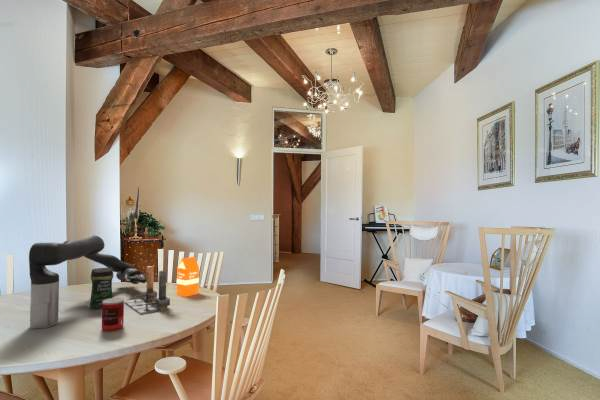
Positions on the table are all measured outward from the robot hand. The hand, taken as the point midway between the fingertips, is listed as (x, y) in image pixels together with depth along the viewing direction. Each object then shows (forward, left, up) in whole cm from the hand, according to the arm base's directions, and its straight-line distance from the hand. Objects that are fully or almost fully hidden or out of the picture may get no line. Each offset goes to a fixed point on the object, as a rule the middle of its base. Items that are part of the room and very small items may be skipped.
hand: (144, 281), depth 181 cm
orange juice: (+5, -22, -9) cm, 24 cm away
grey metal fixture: (-15, -4, -9) cm, 18 cm away
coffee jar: (-12, +16, -9) cm, 23 cm away
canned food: (-45, +2, -9) cm, 46 cm away
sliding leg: (-9, -2, -8) cm, 12 cm away
